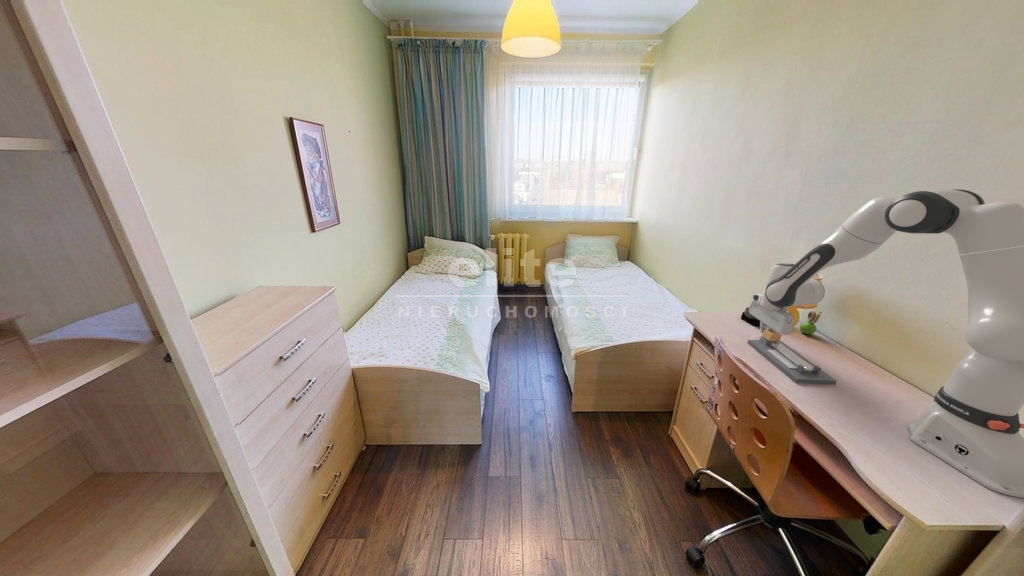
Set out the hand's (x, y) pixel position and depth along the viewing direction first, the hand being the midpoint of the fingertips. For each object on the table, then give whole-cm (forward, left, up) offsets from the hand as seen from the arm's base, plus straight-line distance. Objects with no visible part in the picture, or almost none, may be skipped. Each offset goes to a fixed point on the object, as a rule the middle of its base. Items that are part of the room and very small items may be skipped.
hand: (764, 333), depth 134 cm
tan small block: (-4, 0, 0) cm, 4 cm away
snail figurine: (+8, -24, -4) cm, 26 cm away
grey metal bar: (-16, 0, -1) cm, 16 cm away
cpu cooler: (+19, -9, -4) cm, 22 cm away
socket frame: (-15, 0, -4) cm, 15 cm away
